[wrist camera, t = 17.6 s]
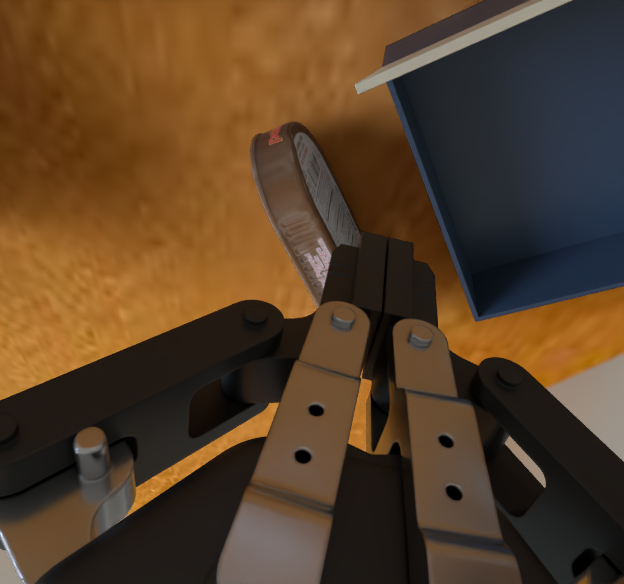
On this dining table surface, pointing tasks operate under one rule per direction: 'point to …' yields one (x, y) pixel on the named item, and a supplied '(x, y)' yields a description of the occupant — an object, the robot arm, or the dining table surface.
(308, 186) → the tin
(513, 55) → the carton
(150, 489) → the dining table surface
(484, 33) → the carton flap
